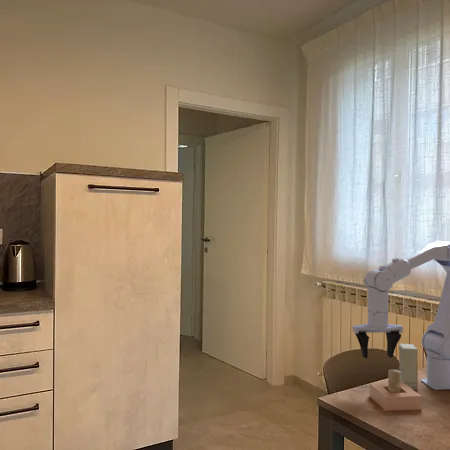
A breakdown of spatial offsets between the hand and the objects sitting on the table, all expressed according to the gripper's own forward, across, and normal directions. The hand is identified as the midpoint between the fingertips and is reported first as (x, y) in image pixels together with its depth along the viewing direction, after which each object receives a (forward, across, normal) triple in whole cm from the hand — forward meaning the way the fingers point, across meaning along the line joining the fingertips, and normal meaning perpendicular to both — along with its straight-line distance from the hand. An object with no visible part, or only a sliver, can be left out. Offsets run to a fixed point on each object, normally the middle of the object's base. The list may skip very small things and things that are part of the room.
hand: (377, 356), depth 132 cm
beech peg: (+9, +1, -9) cm, 13 cm away
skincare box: (+10, +11, +3) cm, 15 cm away
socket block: (+10, +1, -9) cm, 13 cm away
